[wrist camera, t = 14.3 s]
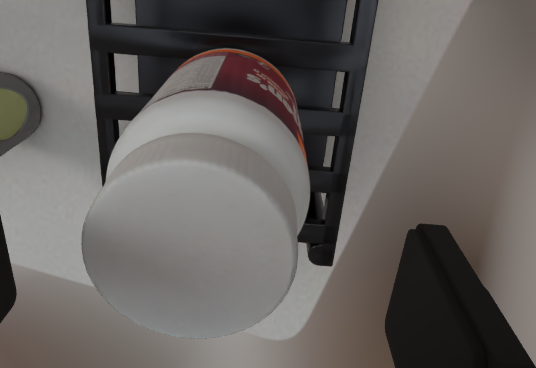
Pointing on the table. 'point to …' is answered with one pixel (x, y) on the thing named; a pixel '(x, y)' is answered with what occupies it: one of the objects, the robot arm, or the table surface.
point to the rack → (265, 46)
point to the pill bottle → (203, 201)
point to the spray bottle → (16, 112)
